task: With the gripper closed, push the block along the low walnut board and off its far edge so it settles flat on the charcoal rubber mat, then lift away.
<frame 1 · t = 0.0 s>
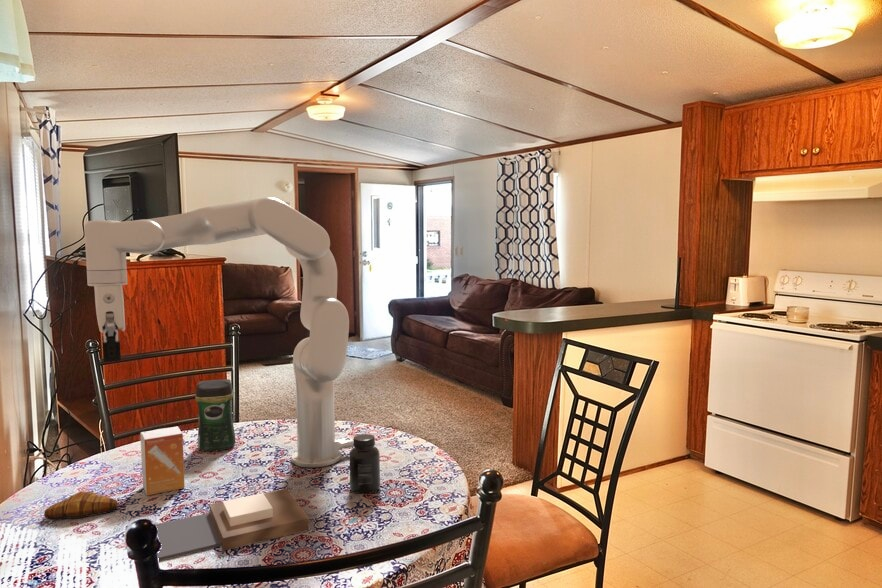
hand: (111, 357, 131), 31 cm above the table, tool pointing down, fingers open, 9 cm apart
mat: (188, 536, 116), on the table
small box: (163, 488, 139), on the table
board: (258, 522, 122), on the table
block: (247, 513, 121), point 2 cm above the table, touching board
coffee jar: (216, 447, 165), on the table
croissant: (82, 515, 126), on the table
supplement bottle: (365, 489, 138), on the table
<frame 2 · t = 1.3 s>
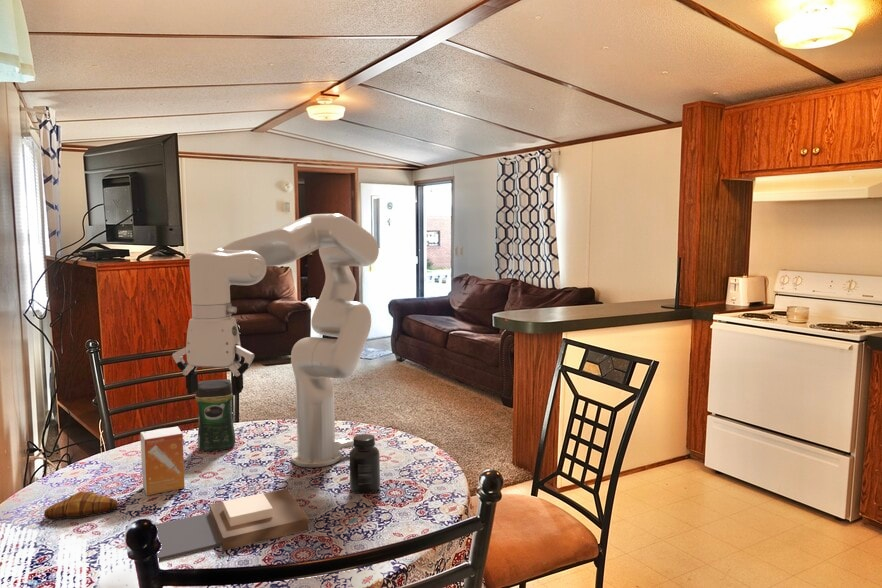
hand: (215, 393, 127), 25 cm above the table, tool pointing down, fingers open, 9 cm apart
nothing on the table moved.
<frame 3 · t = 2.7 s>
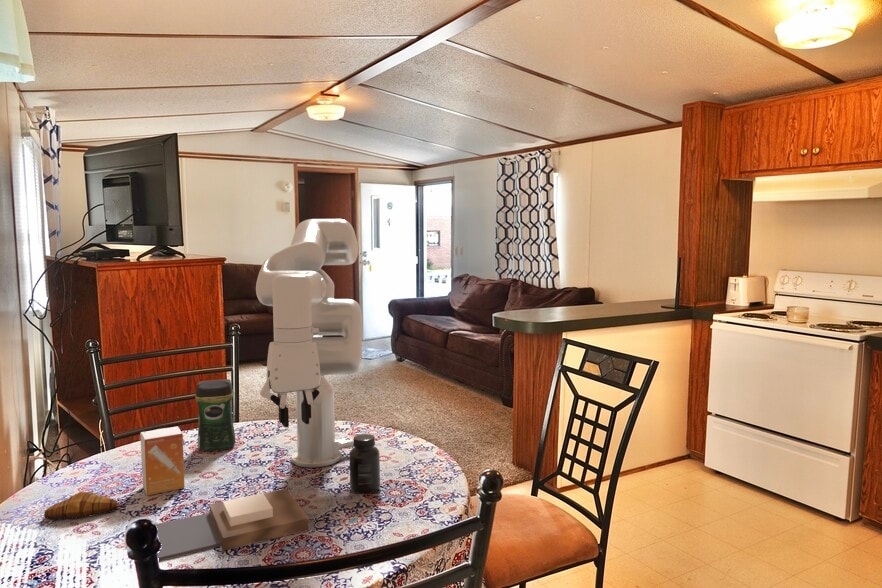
hand: (295, 423, 124), 19 cm above the table, tool pointing down, fingers open, 3 cm apart
nothing on the table moved.
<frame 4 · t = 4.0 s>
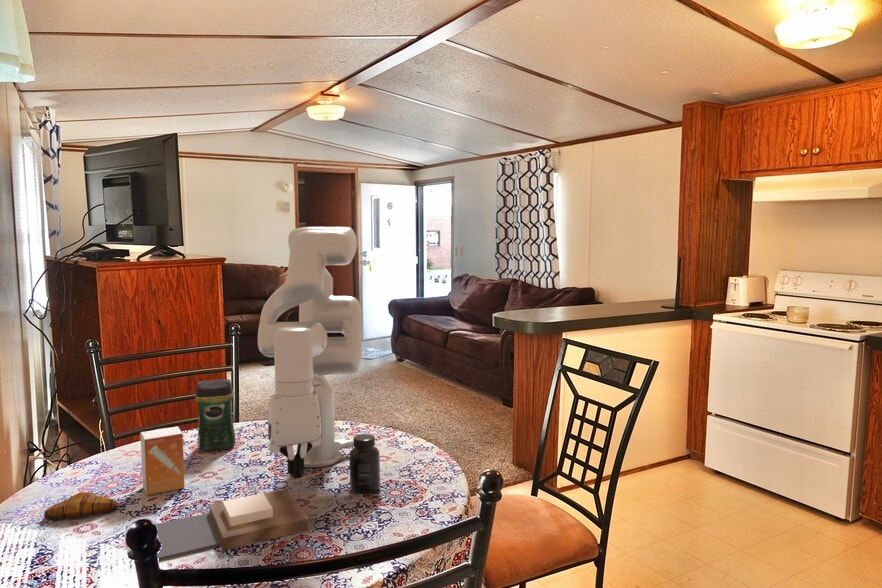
hand: (296, 476, 124), 8 cm above the table, tool pointing down, fingers closed
nothing on the table moved.
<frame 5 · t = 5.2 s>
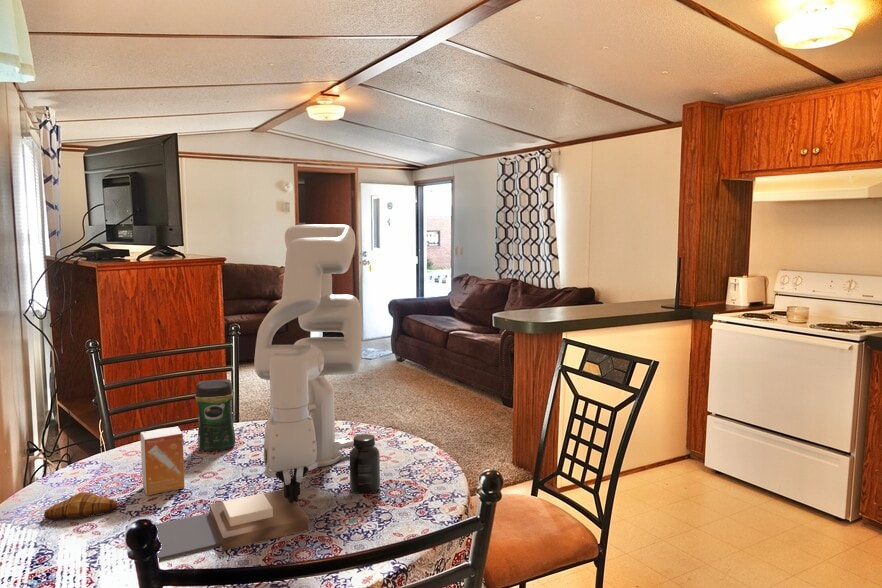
hand: (292, 499, 125), 3 cm above the table, tool pointing down, fingers closed
nothing on the table moved.
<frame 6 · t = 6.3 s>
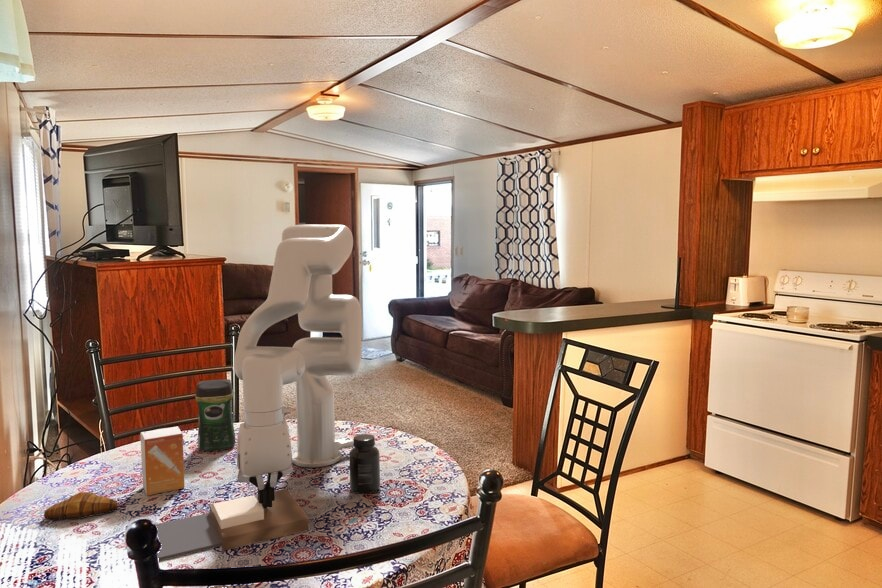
hand: (266, 505, 122), 3 cm above the table, tool pointing down, fingers closed
block: (238, 515, 120), point 2 cm above the table, touching board, gripper
everything else where it was.
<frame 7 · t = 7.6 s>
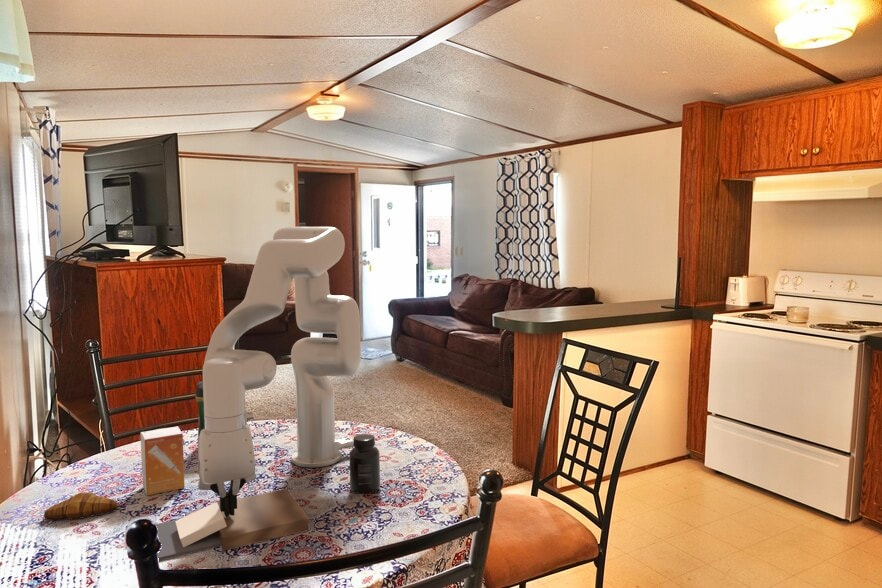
hand: (228, 513, 119), 3 cm above the table, tool pointing down, fingers closed
block: (202, 527, 116), point 2 cm above the table, tilted 16°, touching gripper
everything else where it was.
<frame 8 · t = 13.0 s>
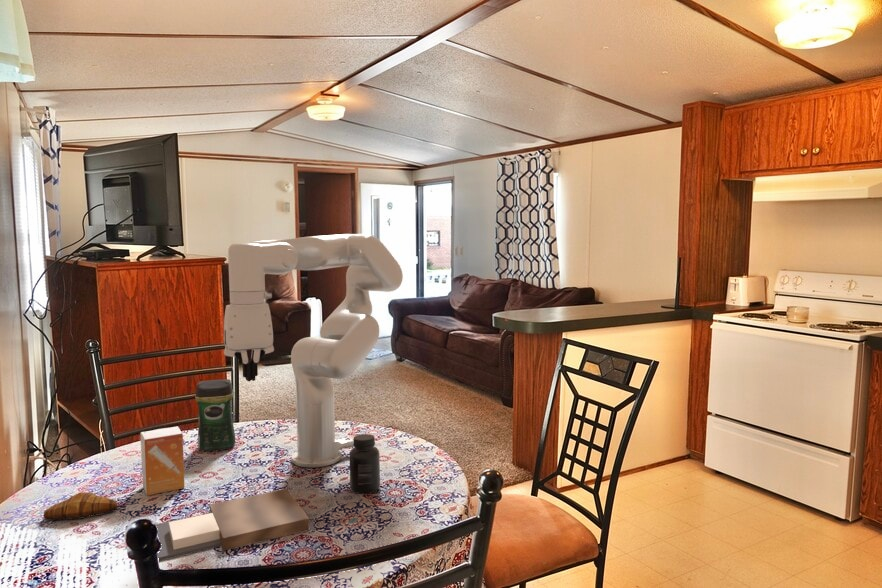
hand: (250, 379, 136), 25 cm above the table, tool pointing down, fingers closed
block: (194, 534, 116), point 1 cm above the table, touching mat
everything else where it was.
at the end: block inside the target area (1.7 cm from its centre), point 0.6 cm above the table; block tilted 0° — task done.
